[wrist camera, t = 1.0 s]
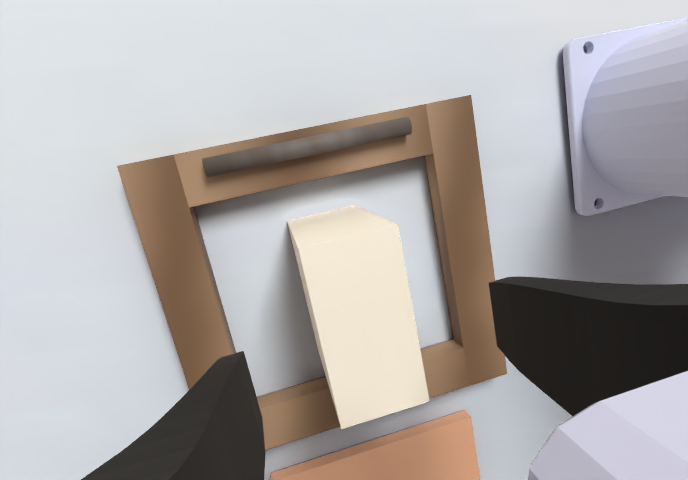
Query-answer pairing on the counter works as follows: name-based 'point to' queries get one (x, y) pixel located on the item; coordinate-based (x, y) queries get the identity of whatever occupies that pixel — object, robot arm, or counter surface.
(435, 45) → the counter surface
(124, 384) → the counter surface
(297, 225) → the cream upright block
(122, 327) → the counter surface
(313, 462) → the peach rectangular tile
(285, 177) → the wooden picture frame
